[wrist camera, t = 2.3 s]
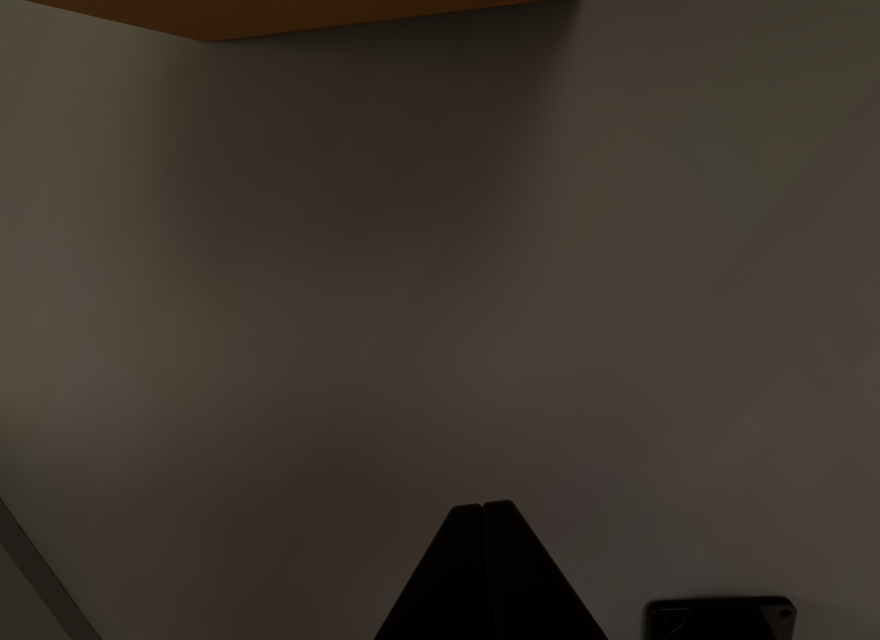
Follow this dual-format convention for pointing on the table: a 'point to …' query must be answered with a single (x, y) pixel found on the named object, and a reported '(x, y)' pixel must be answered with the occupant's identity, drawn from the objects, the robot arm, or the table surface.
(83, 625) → the dark grey curved stand
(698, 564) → the table surface
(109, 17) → the brown banded box
